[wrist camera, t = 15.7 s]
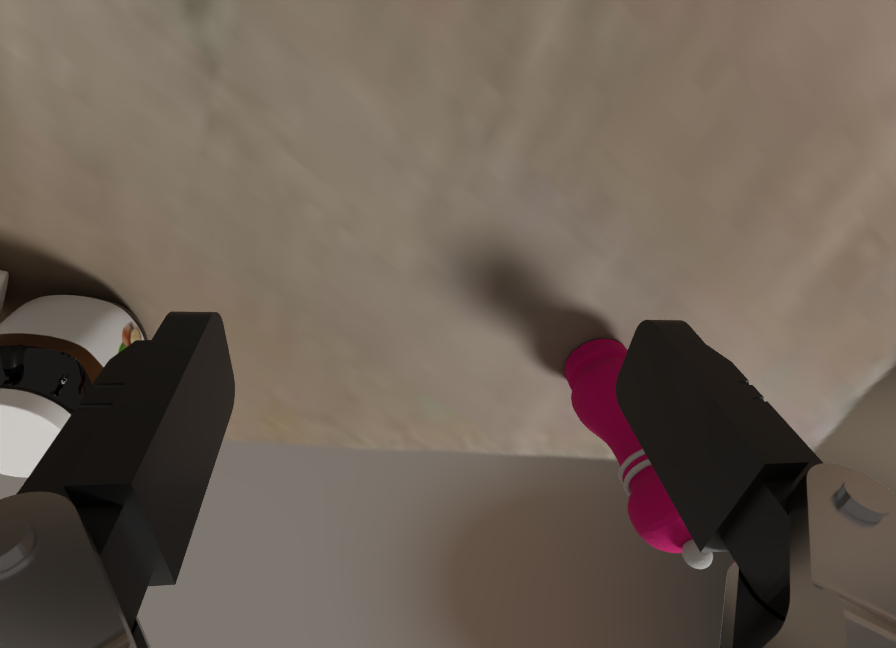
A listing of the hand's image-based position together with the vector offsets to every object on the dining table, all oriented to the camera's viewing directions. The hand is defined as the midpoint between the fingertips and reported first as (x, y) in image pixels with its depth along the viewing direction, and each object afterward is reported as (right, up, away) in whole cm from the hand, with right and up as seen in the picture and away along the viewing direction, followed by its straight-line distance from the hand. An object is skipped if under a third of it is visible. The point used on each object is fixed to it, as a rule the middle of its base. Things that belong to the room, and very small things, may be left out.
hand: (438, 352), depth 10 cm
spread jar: (-30, +1, +30) cm, 42 cm away
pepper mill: (+14, -3, +38) cm, 40 cm away
